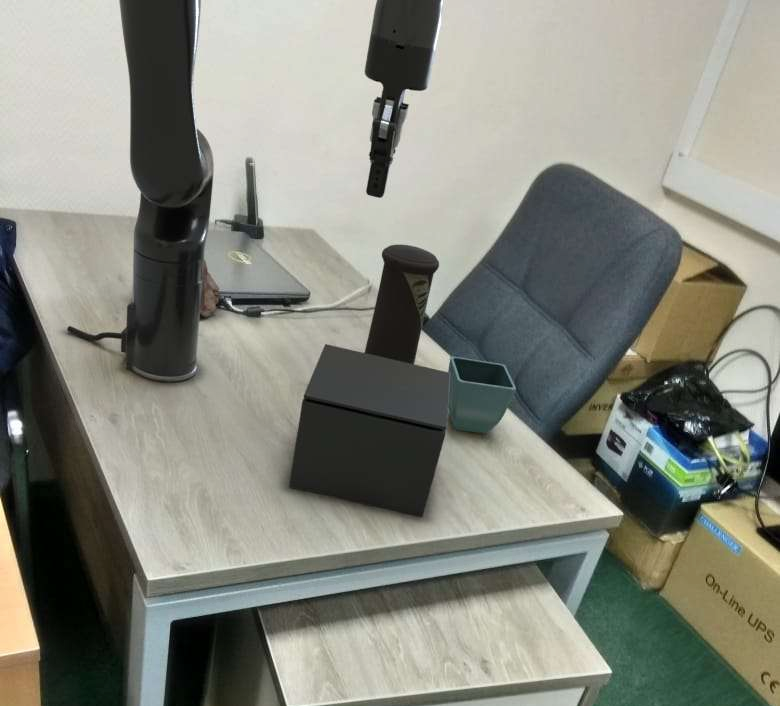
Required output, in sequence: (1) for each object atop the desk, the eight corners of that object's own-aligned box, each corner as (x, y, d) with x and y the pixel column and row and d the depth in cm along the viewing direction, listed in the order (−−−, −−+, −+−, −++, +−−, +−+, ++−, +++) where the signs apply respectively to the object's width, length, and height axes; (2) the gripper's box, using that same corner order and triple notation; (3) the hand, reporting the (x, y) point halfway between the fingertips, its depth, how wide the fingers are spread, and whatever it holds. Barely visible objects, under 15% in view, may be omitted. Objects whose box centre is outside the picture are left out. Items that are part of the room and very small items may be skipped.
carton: (288, 487, 99) (303, 395, 92) (310, 428, 113) (324, 343, 106) (422, 517, 100) (447, 427, 93) (428, 454, 113) (450, 372, 106)
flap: (314, 370, 99) (315, 367, 99) (324, 346, 106) (325, 343, 105) (447, 401, 100) (448, 398, 100) (449, 375, 106) (450, 372, 106)
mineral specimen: (180, 348, 136) (115, 292, 137) (232, 310, 142) (169, 257, 144) (184, 302, 126) (114, 243, 127) (240, 263, 132) (172, 207, 134)
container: (407, 385, 131) (436, 264, 120) (354, 370, 131) (378, 249, 120) (416, 366, 138) (445, 250, 127) (366, 352, 138) (390, 235, 127)
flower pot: (436, 407, 126) (449, 354, 121) (489, 415, 128) (505, 363, 123) (443, 434, 119) (458, 380, 114) (499, 443, 121) (517, 389, 116)
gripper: (377, 26, 96) (352, 177, 106) (364, 32, 85) (337, 200, 95) (438, 42, 96) (407, 191, 106) (433, 49, 86) (399, 214, 95)
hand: (374, 195), depth 100 cm, fingers closed
